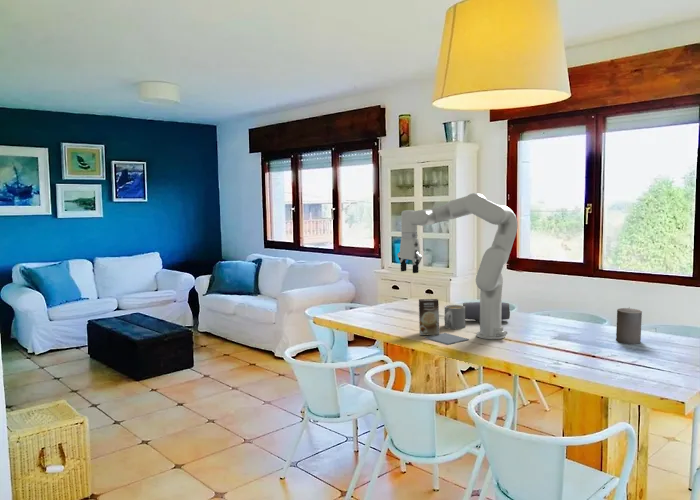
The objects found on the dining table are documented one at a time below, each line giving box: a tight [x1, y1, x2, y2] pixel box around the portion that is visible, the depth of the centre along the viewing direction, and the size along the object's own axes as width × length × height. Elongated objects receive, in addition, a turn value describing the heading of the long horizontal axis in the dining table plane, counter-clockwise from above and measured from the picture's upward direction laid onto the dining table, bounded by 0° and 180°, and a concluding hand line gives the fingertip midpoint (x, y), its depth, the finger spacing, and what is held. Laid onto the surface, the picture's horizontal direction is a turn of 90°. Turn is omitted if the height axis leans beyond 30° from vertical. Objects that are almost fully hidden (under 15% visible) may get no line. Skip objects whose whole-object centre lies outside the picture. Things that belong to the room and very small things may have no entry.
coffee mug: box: [443, 304, 466, 330], centre depth 272 cm, size 13×10×10 cm
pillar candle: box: [615, 307, 643, 345], centre depth 240 cm, size 10×10×15 cm
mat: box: [424, 332, 470, 346], centre depth 250 cm, size 15×13×1 cm
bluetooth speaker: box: [462, 301, 511, 323], centre depth 285 cm, size 23×9×10 cm, turn 84°
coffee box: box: [418, 298, 440, 336], centre depth 258 cm, size 9×6×16 cm
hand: (409, 271), depth 268 cm, fingers open, 8 cm apart
